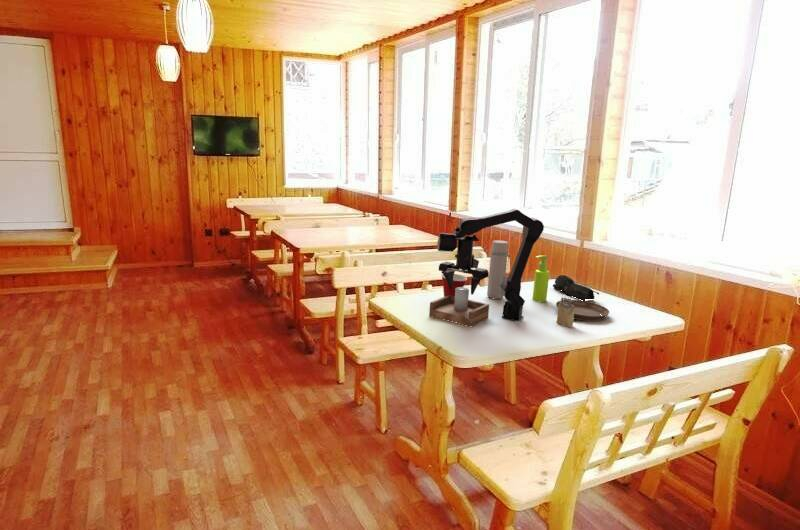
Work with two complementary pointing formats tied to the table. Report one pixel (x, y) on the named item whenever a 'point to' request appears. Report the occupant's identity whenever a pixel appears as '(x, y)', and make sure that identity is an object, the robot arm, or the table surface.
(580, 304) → the plant saucer
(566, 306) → the tan upright block
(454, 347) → the table surface
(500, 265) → the water bottle
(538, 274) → the soap dispenser
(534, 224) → the robot arm
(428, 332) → the table surface
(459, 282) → the plastic cup
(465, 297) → the grey rounded cone
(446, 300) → the wooden tray
